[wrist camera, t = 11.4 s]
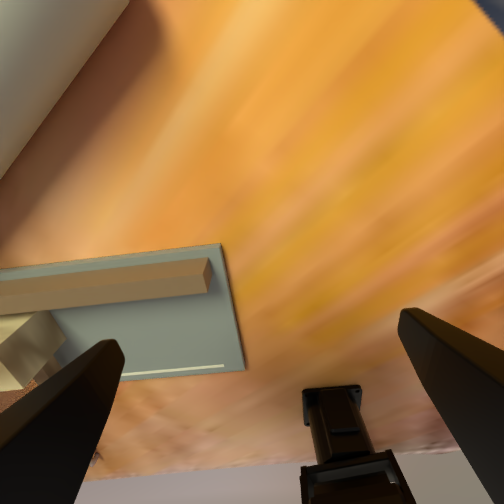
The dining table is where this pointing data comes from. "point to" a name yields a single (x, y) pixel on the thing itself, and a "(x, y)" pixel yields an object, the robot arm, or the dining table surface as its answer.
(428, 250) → the dining table surface
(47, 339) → the wooden block with peg
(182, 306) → the board
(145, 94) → the dining table surface
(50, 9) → the tube
